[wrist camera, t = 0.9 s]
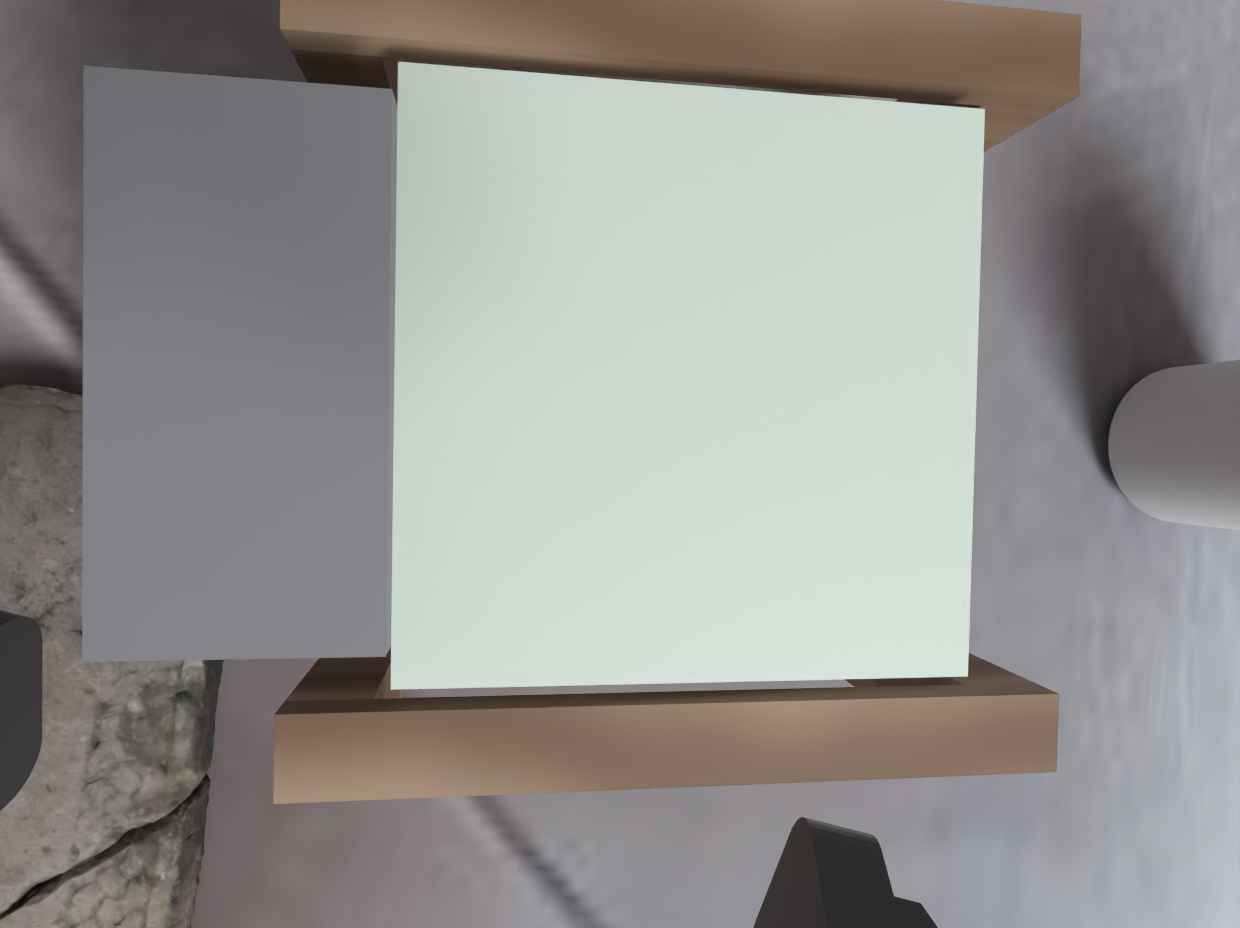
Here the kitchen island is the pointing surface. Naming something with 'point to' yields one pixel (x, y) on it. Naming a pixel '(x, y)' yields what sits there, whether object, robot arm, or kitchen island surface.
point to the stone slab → (92, 715)
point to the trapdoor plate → (528, 377)
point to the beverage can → (1181, 445)
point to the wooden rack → (685, 720)
